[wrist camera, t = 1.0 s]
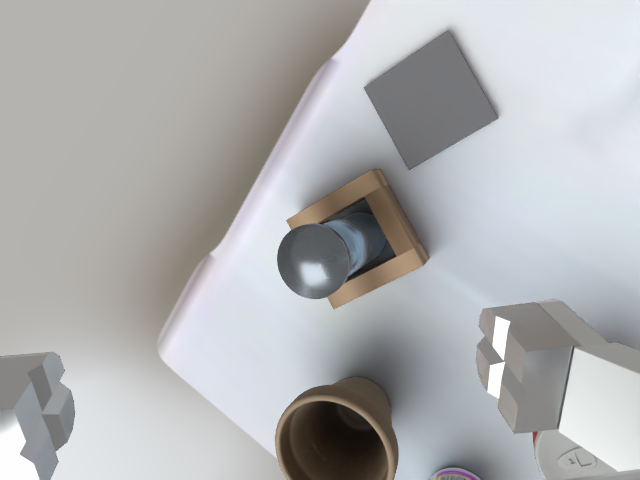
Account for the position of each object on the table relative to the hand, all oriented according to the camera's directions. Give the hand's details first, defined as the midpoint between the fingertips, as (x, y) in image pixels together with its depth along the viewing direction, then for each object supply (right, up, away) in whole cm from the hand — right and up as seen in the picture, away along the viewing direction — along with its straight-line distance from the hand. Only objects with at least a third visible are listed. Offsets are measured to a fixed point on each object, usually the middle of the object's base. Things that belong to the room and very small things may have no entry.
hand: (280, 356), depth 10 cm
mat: (+11, +15, +37) cm, 41 cm away
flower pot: (+5, -15, +44) cm, 47 cm away
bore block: (+5, +3, +41) cm, 42 cm away
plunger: (+5, +3, +41) cm, 42 cm away
